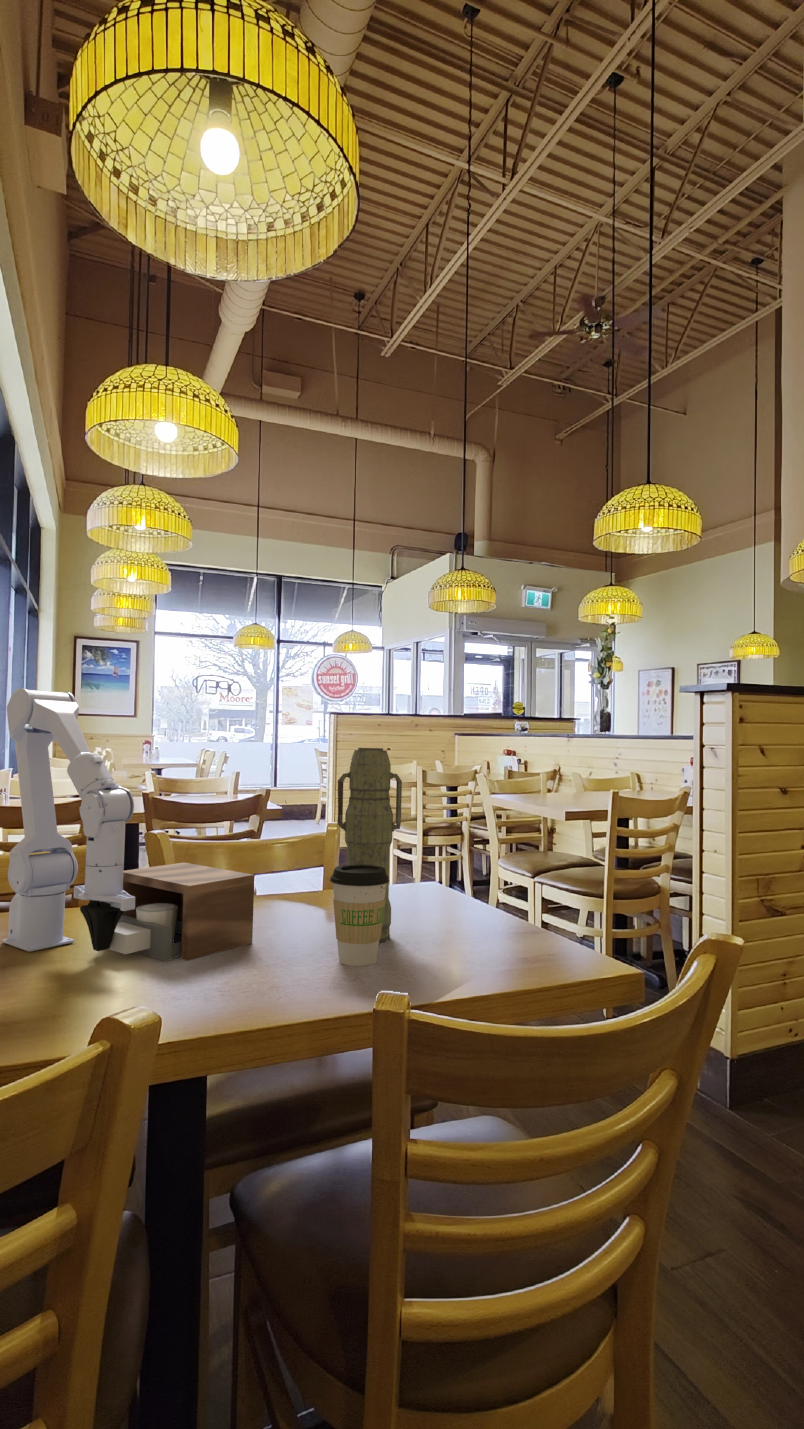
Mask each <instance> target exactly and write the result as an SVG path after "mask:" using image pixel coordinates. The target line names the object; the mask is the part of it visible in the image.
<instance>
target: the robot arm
mask: <svg viewBox="0 0 804 1429" xmlns="http://www.w3.org/2000/svg"><path fill="white" fill-rule="evenodd" d="M79 711H80V706H79V704H78V703H77V700H76V697H75V696H74V694H73V693H72V692H68V691H51V690H50V691H49V690H47V691H46V690H37V689H36V690H35V689H27V688H23V687H22V688H17V689H15V691H14V692H13V693H12V695H11V696H10V698H9V700H8V702H7V705H6V715H7V717H6V718H7V726H8V733H9V738H10V739H12V740H13V741H14V745H15V746H14V747H15V756H16V764H17V765H16V766H17V775H18V783H19V784H18V785H19V795H20V805H21V814H22V823H23V824H22V825H23V834H24V837H23V838H22V839H21V840H20V841H19V842H17V843H16V845H15V846H14V847H12V849H11V850H10V851H9V862H8V863H9V864H8V870H7V880H8V882H9V887H10V888H11V889H12V890H13V891H14V893H15V895H14V896H13V897H12V899H11V901H10V903H9V908H8V910H9V911H8V928H7V929H8V931H7V932H8V933H7V938H4V939H2V943H4V944H7V945H8V946H9V945H10V946H12V947H15V948H18V949H21V950H23V951H25V952H36V951H39V950H45V949H49V948H53V947H58V946H62V945H66V944H67V945H69V944H72V943H73V944H74V943H75V939H74V938H70V937H67V936H66V935H64V932H65V912H66V911H65V910H66V909H65V908H66V907H65V906H66V891H69V890H70V889H71V887H70V886H71V885H72V884H73V883H74V882H75V880H76V878H77V876H78V873H79V864H78V860H77V858H76V856H75V854H74V851H73V846H72V842H71V841H70V840H69V839H67V838H66V837H65V836H63V835H61V834H60V833H59V832H58V825H57V816H56V815H57V814H56V806H55V798H54V790H53V789H54V788H53V781H52V772H51V770H52V769H51V763H50V753H49V752H50V751H49V747H50V744H51V743H52V742H55V741H56V743H57V744H58V746H59V747H60V749H61V750H62V752H63V753H64V755H65V756H66V758H67V759H68V761H69V764H68V766H67V767H66V768H67V769H66V772H67V774H68V776H69V779H70V780H71V782H72V784H73V786H74V788H75V790H76V793H77V794H78V796H79V798H80V799H81V804H80V806H79V816H80V819H81V821H82V825H83V826H82V827H83V829H82V830H83V835H84V836H85V837H86V845H85V846H86V849H85V869H84V884H82V885H74V886H73V899H77V900H81V901H88V903H87V904H84V905H81V906H80V907H79V908H80V909H79V911H80V913H81V914H82V917H83V918H84V920H85V922H86V925H87V927H88V931H89V937H90V940H91V945H92V949H93V951H96V952H101V951H106V950H110V949H109V948H110V945H111V942H112V938H113V935H114V932H115V929H116V926H117V924H118V922H119V920H120V918H121V916H122V914H123V913H124V911H127V910H133V909H135V897H134V896H131V895H129V894H128V893H127V892H126V891H124V890H123V871H125V870H124V869H125V865H124V864H125V842H126V823H128V822H129V821H130V820H131V818H132V817H133V814H134V812H135V811H134V810H135V803H134V802H135V801H134V799H133V795H132V793H131V791H130V790H129V789H128V788H126V787H122V786H121V784H120V783H119V784H118V783H116V782H115V780H114V778H113V776H112V775H111V772H110V771H109V769H108V766H106V763H105V762H104V760H103V758H102V756H101V755H99V754H98V753H94V752H93V753H92V752H91V750H90V747H89V745H88V743H87V741H86V738H85V736H84V734H83V731H82V729H81V727H80V725H79V722H78V717H79V713H80V712H79Z"/></svg>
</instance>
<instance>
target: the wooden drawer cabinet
mask: <svg viewBox="0 0 804 1429" xmlns="http://www.w3.org/2000/svg"><path fill="white" fill-rule="evenodd" d="M123 890H124V891H126V892H127V893H128V894H129V895H131V896H134V897H135V909H133V910H127V911H124V913H123V914H122V915H125V916H129V917H132V918H136V919H137V916H136V908H137V907H139V906H142V905H147V904H155V903H168V904H174V905H177V906H178V912H177V920H180V921H182V934H181V942H182V949H181V956H180V959H181V960H183V961H190V960H194V959H198V958H202V957H205V956H210V955H213V954H216V953H221V952H224V951H228V950H231V949H235V948H239V947H243V946H246V945H250V944H253V938H254V937H253V933H254V932H253V931H254V928H253V927H254V903H255V902H254V896H255V895H254V894H255V874H251V873H247V872H246V873H245V872H240V871H236V870H230V869H223V868H217V867H211V866H205V865H201V864H195V863H190V862H179V863H178V862H177V863H171V864H170V863H169V864H163V865H156V866H148V867H142V868H134V869H127V870H123Z"/></svg>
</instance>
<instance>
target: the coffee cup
mask: <svg viewBox="0 0 804 1429" xmlns="http://www.w3.org/2000/svg"><path fill="white" fill-rule="evenodd" d="M329 881H330V882H331V883H332V892H333V897H332V901H333V903H332V905H333V914H334V926H335V936H336V938H335V939H336V940H337V950H338V951H337V953H338V961H339V963H340V964H342V965H345V966H349V967H350V966H351V967H352V966H353V967H365V966H371V965H373V964H375V963H376V962H377V959H378V951H379V944H380V943H379V940H380V937H381V929H382V922H383V914H384V907H385V899H386V898H385V891H386V884H387V883H388V882H389V883H390V876H389V877H388V876H387V874H386V870H385V868H383V867H380V866H374V865H347V864H344V865H340V866H335V867H334V869H333V872H332V874H331V875H330V879H329Z"/></svg>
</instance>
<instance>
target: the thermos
mask: <svg viewBox="0 0 804 1429" xmlns="http://www.w3.org/2000/svg"><path fill="white" fill-rule="evenodd" d="M350 760H351V761H350V766H349V771H348V772H346V773H343V774H342V775H341V776H340V777H339V779H338V780H337V822H336V823H337V824H336V825H338V827H339V828H341V830H343V831H344V842H345V844H346V846H347V849H346V865H374V866H380V867H383V868H385V870H386V874H387V876H388V877H389V878H390V847H391V845H392V842H393V832H395V830H400V829H401V824H402V798H403V797H402V794H403V793H402V791H403V789H402V788H403V782H402V780H401V777H400V776H399V775H398V774H397V773H393V772H391V761H390V756H389V754H388V751H387V750H384V748H382V747H379V748H378V747H357V749H354V751H353V754H352V756H351V758H350ZM346 778H348V779H349V783H348V784H349V788H348V790H350V792H349V797H348V804H347V807H346V810H345V816H343V815H344V814H343V813H344V782H345V779H346ZM393 779H395V781H396V787H395V788H396V790H395V791H396V792H395V796H396V797H395V798H396V799H395V822H394V818H393V817H394V814H393V810H392V806H391V798H390V790H391V780H393ZM343 817H345V819H344V820H345V821H344V820H343ZM343 821H344V822H343ZM389 887H390V881H389V882H388V883H387V884H386V891H385V898H386V899H385V907H384V914H383V922H382V929H381V937H380V940H379V944H381V943H385V942H387V941H389V940H390V938H391V935H390V933H391V932H390V931H391V930H390V929H391V928H390V927H391V924H392V904H391V902H390V898H389V892H390V890H389V889H390V888H389Z"/></svg>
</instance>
